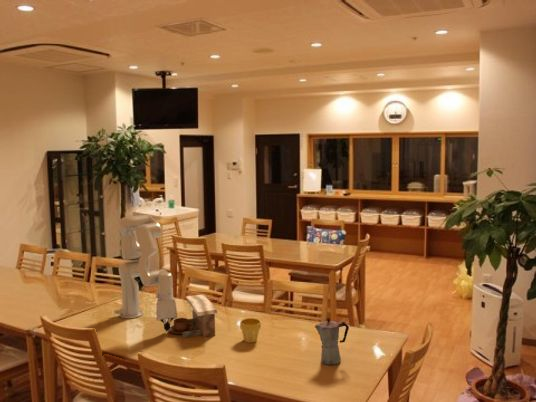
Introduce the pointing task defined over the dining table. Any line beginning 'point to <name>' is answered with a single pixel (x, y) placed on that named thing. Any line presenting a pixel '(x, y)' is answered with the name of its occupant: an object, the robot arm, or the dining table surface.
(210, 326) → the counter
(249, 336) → the plant pot
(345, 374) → the dining table surface
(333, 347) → the moka pot
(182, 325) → the cup and saucer
